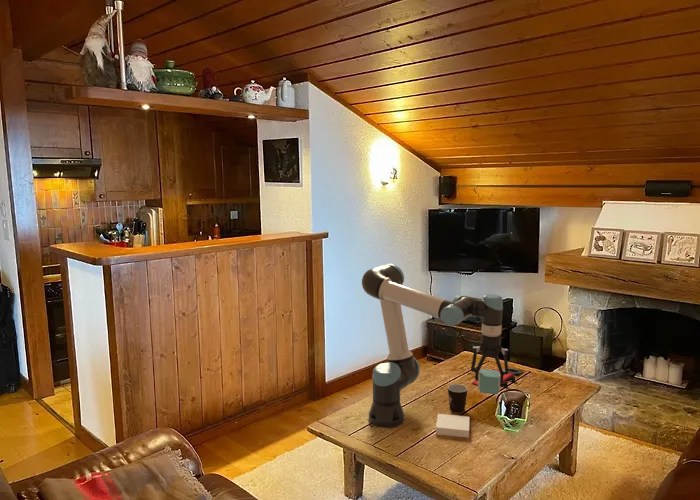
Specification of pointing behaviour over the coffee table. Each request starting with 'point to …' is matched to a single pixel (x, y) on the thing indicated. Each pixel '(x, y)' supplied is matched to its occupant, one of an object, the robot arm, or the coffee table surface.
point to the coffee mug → (457, 397)
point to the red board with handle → (505, 377)
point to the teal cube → (489, 381)
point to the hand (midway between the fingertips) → (488, 388)
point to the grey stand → (452, 425)
